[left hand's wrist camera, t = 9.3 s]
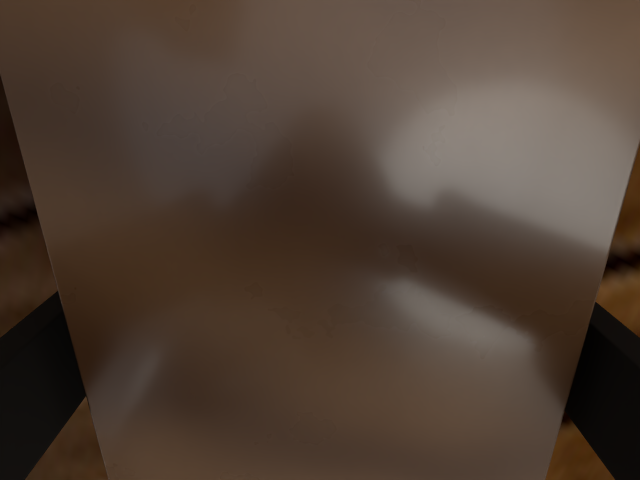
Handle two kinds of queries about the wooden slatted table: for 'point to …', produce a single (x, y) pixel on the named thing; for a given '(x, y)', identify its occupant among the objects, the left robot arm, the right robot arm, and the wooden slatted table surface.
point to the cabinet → (326, 223)
